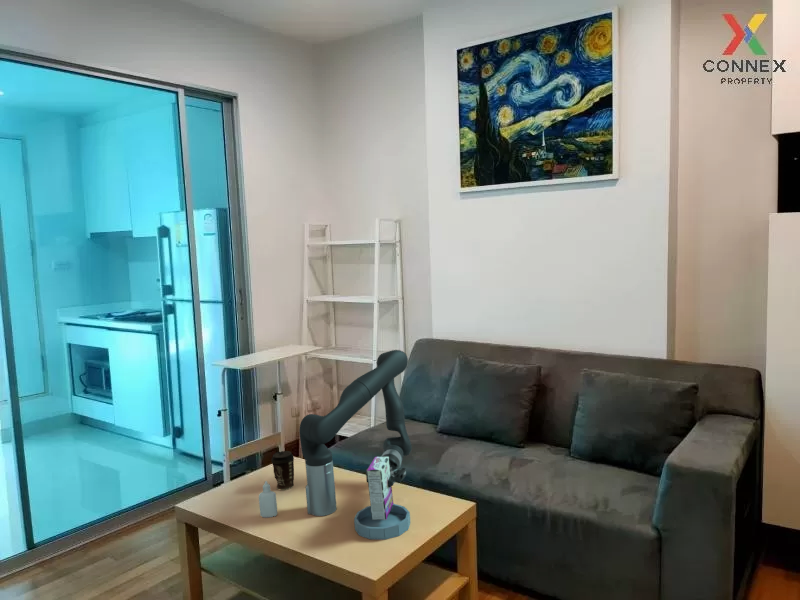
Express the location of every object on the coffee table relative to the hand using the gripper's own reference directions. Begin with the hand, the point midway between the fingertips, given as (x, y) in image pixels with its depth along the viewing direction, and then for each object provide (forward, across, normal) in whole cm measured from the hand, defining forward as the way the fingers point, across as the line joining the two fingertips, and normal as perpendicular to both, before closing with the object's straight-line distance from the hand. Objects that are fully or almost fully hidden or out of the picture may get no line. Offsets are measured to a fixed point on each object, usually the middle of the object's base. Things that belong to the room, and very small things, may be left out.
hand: (380, 484), depth 186 cm
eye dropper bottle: (-6, -41, +14) cm, 44 cm away
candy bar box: (0, 0, +9) cm, 9 cm away
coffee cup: (-30, -44, +14) cm, 55 cm away
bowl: (+1, 0, +13) cm, 13 cm away
